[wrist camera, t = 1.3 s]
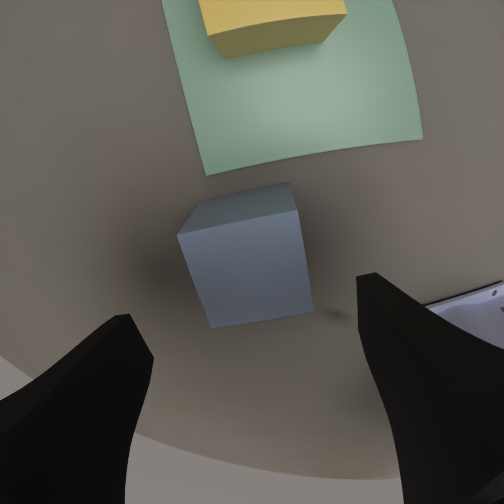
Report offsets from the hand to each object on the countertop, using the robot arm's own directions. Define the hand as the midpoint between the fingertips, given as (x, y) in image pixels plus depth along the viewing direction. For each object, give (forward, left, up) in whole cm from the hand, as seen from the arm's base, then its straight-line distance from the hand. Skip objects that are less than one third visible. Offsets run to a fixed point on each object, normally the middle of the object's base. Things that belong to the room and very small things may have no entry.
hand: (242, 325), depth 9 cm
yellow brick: (-3, -11, -7) cm, 13 cm away
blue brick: (0, 0, -8) cm, 8 cm away
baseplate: (-4, -9, -7) cm, 12 cm away
